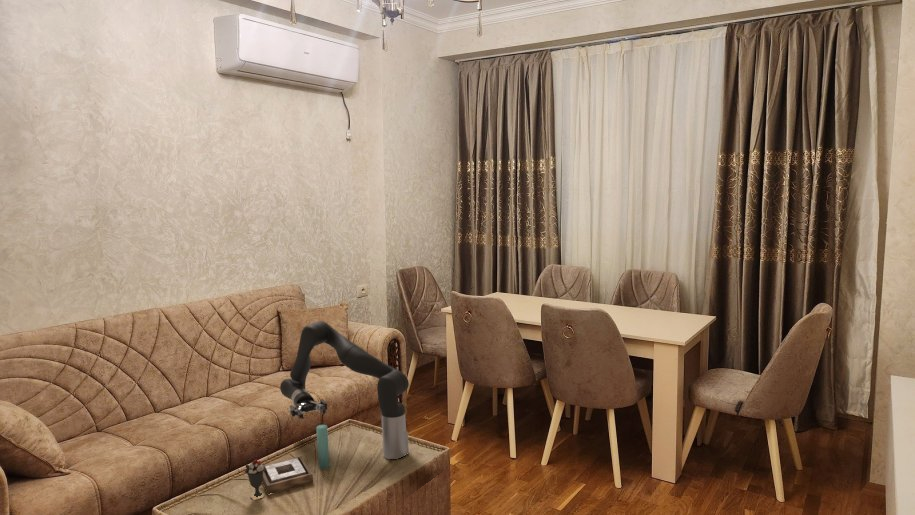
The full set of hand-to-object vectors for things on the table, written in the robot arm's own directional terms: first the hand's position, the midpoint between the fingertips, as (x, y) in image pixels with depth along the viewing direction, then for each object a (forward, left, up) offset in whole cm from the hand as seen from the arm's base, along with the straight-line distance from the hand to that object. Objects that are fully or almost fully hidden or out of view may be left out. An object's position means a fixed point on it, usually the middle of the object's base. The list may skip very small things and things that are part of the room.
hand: (313, 414), depth 246 cm
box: (+15, +13, -17) cm, 26 cm away
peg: (0, +11, -17) cm, 20 cm away
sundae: (+26, +20, -17) cm, 37 cm away
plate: (+15, +13, -17) cm, 26 cm away
